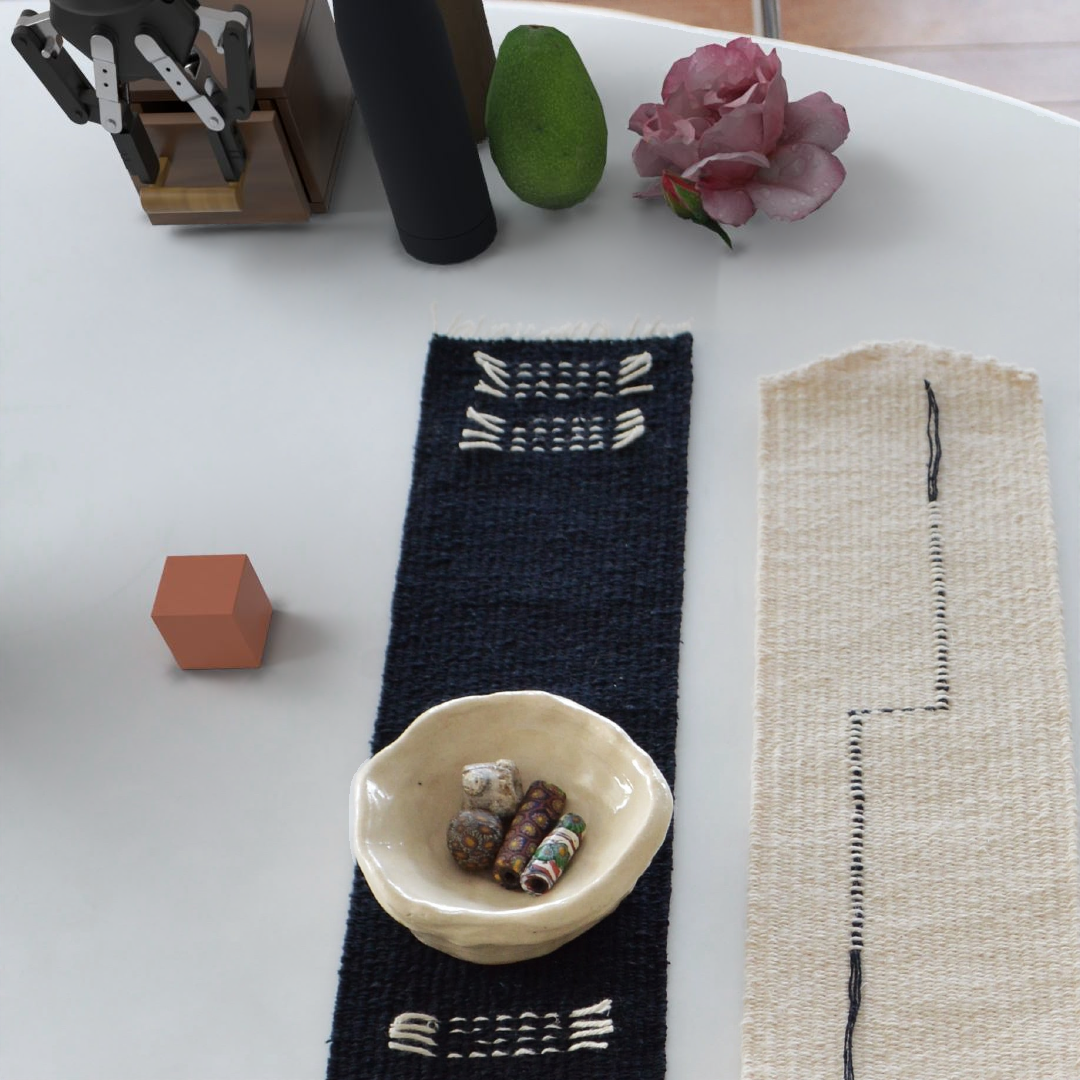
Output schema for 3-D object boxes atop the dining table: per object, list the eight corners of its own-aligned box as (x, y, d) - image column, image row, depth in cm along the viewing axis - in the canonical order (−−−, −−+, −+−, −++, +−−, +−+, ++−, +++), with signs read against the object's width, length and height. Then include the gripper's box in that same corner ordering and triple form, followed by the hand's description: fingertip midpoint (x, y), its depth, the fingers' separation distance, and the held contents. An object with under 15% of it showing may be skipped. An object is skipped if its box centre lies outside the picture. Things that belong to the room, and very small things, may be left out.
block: (180, 669, 98) (149, 616, 94) (196, 610, 100) (166, 555, 96) (260, 667, 98) (232, 614, 94) (273, 608, 100) (247, 553, 96)
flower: (860, 92, 120) (809, -34, 111) (863, 254, 114) (808, 136, 106) (661, 147, 124) (597, 31, 115) (654, 308, 118) (585, 197, 109)
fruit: (636, 214, 118) (605, 44, 108) (524, 247, 116) (482, 77, 106) (597, 149, 122) (564, -22, 112) (488, 180, 120) (444, 9, 110)
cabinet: (327, 212, 118) (283, 86, 111) (155, 216, 118) (98, 90, 111) (356, 91, 126) (317, -35, 118) (193, 95, 125) (143, -31, 118)
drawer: (297, 268, 114) (259, 168, 108) (136, 272, 114) (89, 172, 108) (337, 108, 123) (304, 6, 117) (188, 111, 123) (147, 10, 117)
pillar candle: (536, 109, 124) (488, -110, 112) (429, 174, 121) (367, -45, 108) (446, 56, 128) (390, -162, 115) (340, 118, 124) (269, -101, 111)
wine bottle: (493, 263, 116) (360, -234, 90) (395, 266, 115) (235, -231, 90) (502, 202, 119) (377, -295, 93) (407, 204, 119) (256, -292, 93)
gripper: (221, -142, 98) (316, 136, 113) (-36, -137, 98) (93, 141, 112) (196, -68, 94) (297, 210, 109) (-72, -62, 94) (65, 216, 109)
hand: (192, 174), depth 111 cm, fingers open, 4 cm apart
